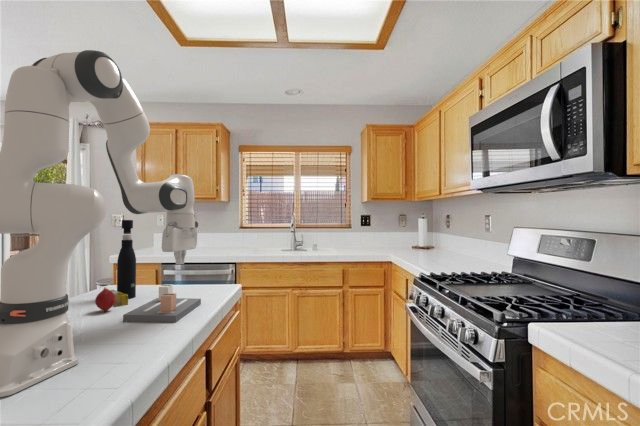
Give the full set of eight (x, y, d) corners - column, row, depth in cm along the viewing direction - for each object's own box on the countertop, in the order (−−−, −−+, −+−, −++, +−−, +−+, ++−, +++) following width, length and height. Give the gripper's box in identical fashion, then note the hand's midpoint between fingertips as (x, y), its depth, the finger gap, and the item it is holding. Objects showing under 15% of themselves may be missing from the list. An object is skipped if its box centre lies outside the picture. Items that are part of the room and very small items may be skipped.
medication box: (105, 301, 133) (105, 290, 133) (113, 300, 135) (113, 289, 135) (120, 306, 126) (120, 295, 126) (128, 305, 128) (128, 294, 128)
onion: (119, 309, 122) (119, 285, 122) (107, 314, 116) (108, 289, 116) (103, 308, 122) (103, 285, 122) (90, 313, 116) (91, 288, 116)
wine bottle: (119, 296, 141) (120, 219, 141) (137, 295, 143) (138, 220, 143) (115, 299, 135) (116, 220, 135) (133, 298, 137) (134, 220, 137)
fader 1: (167, 300, 125) (167, 286, 125) (158, 300, 125) (158, 286, 125) (172, 298, 129) (172, 284, 129) (163, 297, 129) (163, 284, 129)
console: (176, 322, 108) (176, 315, 108) (123, 321, 108) (123, 314, 108) (200, 304, 130) (200, 298, 130) (156, 303, 130) (156, 297, 130)
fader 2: (170, 311, 111) (171, 295, 111) (160, 311, 111) (160, 295, 111) (176, 308, 115) (176, 292, 115) (166, 308, 115) (166, 292, 115)
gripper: (176, 222, 110) (176, 267, 110) (200, 223, 131) (200, 261, 130) (156, 222, 111) (155, 267, 110) (183, 223, 131) (182, 261, 130)
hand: (180, 264), depth 120 cm, fingers closed
